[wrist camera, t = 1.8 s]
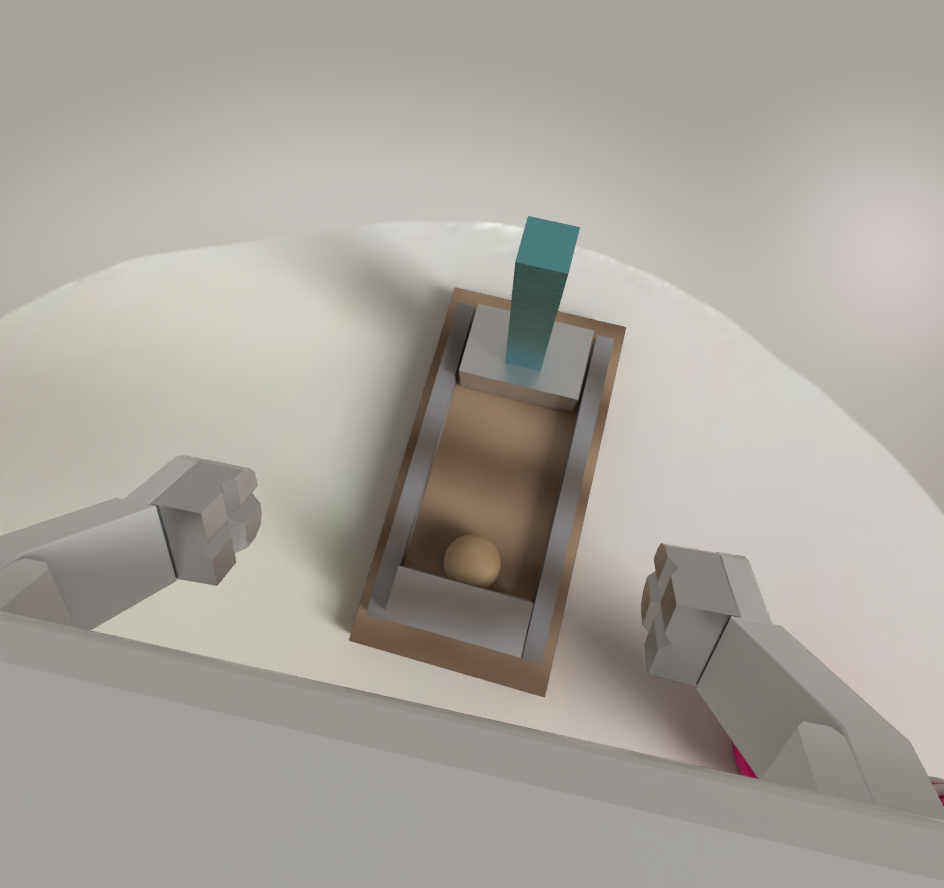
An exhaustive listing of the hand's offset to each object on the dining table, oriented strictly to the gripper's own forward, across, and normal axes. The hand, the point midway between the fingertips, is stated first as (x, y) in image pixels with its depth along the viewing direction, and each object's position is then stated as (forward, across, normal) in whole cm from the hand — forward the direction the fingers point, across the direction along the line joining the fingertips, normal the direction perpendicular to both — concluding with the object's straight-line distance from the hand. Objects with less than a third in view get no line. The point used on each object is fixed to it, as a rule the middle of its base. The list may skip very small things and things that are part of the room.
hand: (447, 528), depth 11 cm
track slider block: (+28, 0, +8) cm, 29 cm away
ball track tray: (+24, +1, +16) cm, 29 cm away
